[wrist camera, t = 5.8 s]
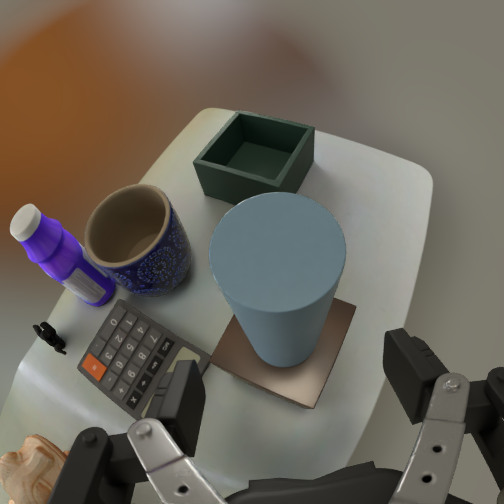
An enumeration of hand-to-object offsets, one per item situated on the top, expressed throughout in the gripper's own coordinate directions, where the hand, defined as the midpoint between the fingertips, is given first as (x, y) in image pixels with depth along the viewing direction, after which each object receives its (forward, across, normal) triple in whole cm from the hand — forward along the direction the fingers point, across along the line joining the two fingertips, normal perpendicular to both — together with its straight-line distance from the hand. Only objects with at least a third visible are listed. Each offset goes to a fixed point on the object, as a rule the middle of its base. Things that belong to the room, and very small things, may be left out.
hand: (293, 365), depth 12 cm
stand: (+18, 0, +13) cm, 22 cm away
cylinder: (+11, 0, +5) cm, 12 cm away
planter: (+28, +15, +3) cm, 32 cm away
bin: (+38, 0, -6) cm, 38 cm away
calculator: (+19, +18, +12) cm, 29 cm away
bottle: (+27, +25, +4) cm, 37 cm away
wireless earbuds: (+22, +31, +10) cm, 39 cm away
